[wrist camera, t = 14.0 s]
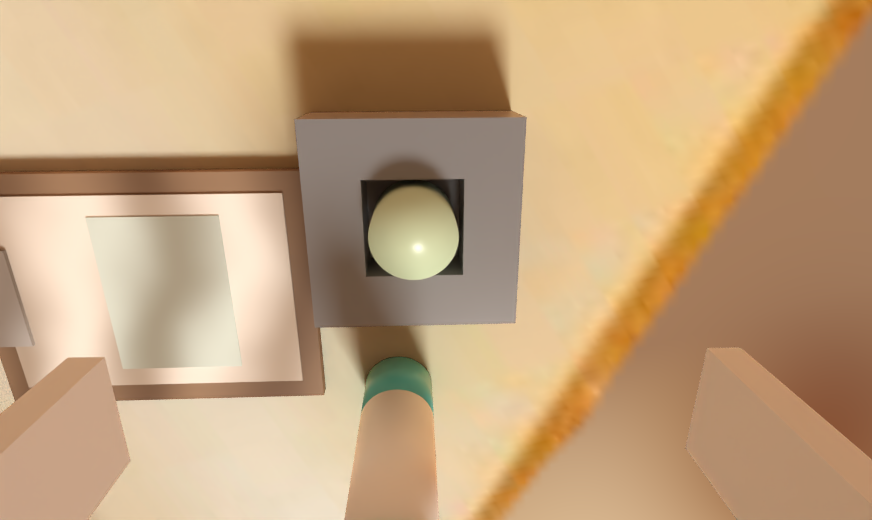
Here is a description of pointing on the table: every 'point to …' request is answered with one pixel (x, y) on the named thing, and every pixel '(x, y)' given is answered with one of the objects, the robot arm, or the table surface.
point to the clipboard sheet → (159, 281)
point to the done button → (413, 230)
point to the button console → (412, 160)
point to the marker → (395, 446)
